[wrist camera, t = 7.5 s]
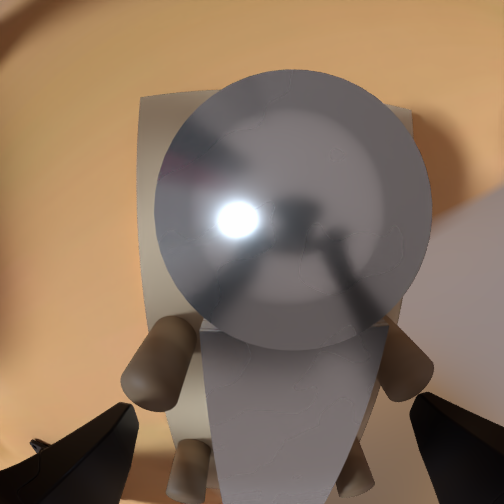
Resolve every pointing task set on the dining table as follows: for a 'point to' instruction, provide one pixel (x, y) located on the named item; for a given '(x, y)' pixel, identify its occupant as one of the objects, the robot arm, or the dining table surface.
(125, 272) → the dining table surface
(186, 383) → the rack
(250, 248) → the round-headed grey paddle
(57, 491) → the robot arm
